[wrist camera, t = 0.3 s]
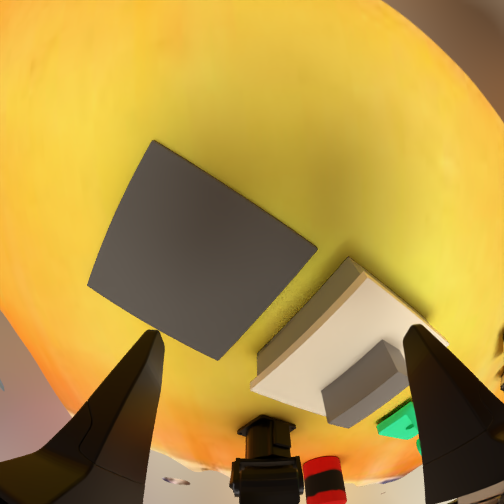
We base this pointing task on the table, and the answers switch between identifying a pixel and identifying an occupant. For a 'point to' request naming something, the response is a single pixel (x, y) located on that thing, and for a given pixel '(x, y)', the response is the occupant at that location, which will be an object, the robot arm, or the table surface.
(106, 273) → the rubber mat
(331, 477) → the soda can
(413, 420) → the camera mount
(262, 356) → the storage box
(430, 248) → the table surface
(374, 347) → the lid
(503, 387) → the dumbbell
